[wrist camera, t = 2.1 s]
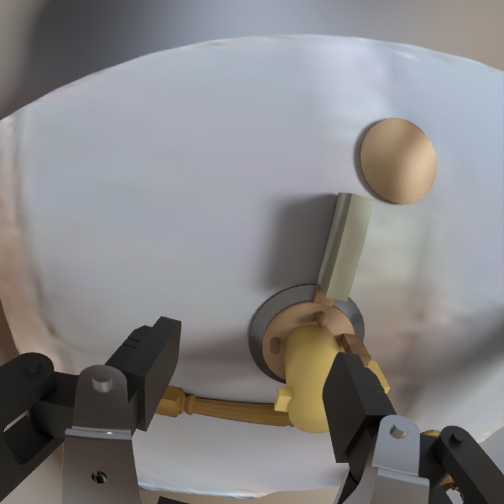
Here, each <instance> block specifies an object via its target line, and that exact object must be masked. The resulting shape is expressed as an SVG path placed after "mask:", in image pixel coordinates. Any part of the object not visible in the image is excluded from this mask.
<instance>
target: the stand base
mask: <svg viewBox="0 0 504 504" xmlns="http://www.w3.org/2000/svg"><path fill="white" fill-rule="evenodd" d="M315 287H316V284H307V285H299V286H295V287H292V288H289V289H286V290H284V291H282V292H280V293H278V294H276V295H275V296H273V297H272V298H271V299H269V300H268V301H267V302H266V303H265V304H264V305H263V306H262V307H261V308H260V310H259V311H258V313H257V314H256V316H255V318H254V320H253V322H252V325H251V328H250V333H249V346H250V351H251V354H252V357H253V359H254V361H255V363H256V364H257V365H258V367H259V368H260V369H261V370H262V371H263V372H264V373H265V374H266V375H268V376H269V377H271V378H273V379H274V380H277V381H279V382H281V383H285V384H286V380H284V379H282V378H280V377H279V376H277V375H276V374H275V373H274V372H273V371H272V370H271V369H270V368H269V367H268V365H267V364H266V362H265V359H264V356H263V350H262V348H263V335H264V332H265V329H266V327H267V325H268V323H269V322H270V320H271V319H272V318H273V317H274V316H275V315H276V314H277V313H278V312H279V311H280V310H282V309H283V308H285V307H287V306H289V305H291V304H293V303H296V302H300V301H305V300H312V298H313V295H314V291H315ZM333 305H335V306H336V307H338V308H339V309H341V310H342V311H343V312H344V313H345V314H346V316H347V317H348V319H349V321H350V322H351V324H352V326H353V329H354V332H355V335H359V337H360V339H361V341H362V342H363V339H364V322H363V318H362V315H361V313H360V310H359V309H358V307H357V306H356V304H355V303H354V302H353V301H352V300H351V299H350V298H349V297H348V300H347V301H342V300H337V299H334V302H333Z"/></svg>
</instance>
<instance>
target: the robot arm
mask: <svg viewBox="0 0 504 504" xmlns="http://www.w3.org/2000/svg"><path fill="white" fill-rule="evenodd" d="M180 334H181V321H178V320H174V319H170V318H167V317H163V316H161V317H160V318H159V319H158V321H157V322H156V323H155V324H154V326H153V327H149V326H146V325H144V326H142V327H140V328H138V329H135V330H134V331H133V332H132V333H131V334H130V335H129V337H128V339H126V340H125V341H124V342H123V344H122V345H121V346H120V347H119V348H118V349H117V350H116V352H115V353H114V354H113V355H112V356H111V358H110V359H109V360H108V361H107V362H106V363H105V365H94V366H90V367H87V368H85V369H84V370H83V371H82V372H81V373H80V374H79V375H71V374H65V373H60V372H55V371H54V366H53V363H52V361H51V360H50V359H49V358H48V357H47V356H45V355H43V354H40V353H33V352H31V353H24V354H21V355H19V356H17V357H16V358H14V359H12V360H11V361H9V362H7V363H6V364H4V365H2V366H0V502H1V501H2V500H3V499H4V498H5V497H6V496H7V495H8V494H9V493H10V492H12V491H13V490H14V489H15V488H16V487H17V486H18V485H19V484H20V483H21V482H22V481H23V480H24V479H25V478H26V477H27V476H28V475H29V474H30V473H32V471H34V470H35V469H36V468H37V467H38V466H39V465H40V464H41V463H42V462H43V461H44V460H45V459H46V458H47V457H48V456H49V455H50V454H51V453H52V452H53V451H54V450H55V449H57V447H59V446H60V445H61V444H62V443H63V442H64V451H63V471H62V504H142V501H141V496H140V491H139V485H138V480H137V474H136V468H135V461H134V454H133V446H132V436H133V434H134V432H135V430H136V429H139V430H142V431H145V432H146V431H147V429H148V426H149V424H150V422H151V420H152V418H153V416H154V414H155V411H156V409H157V407H158V405H159V403H160V401H161V399H162V397H163V395H164V392H165V390H166V388H167V386H168V384H169V382H170V380H171V378H172V376H173V374H174V371H175V369H176V365H177V361H178V354H179V344H180ZM322 400H323V404H324V409H325V413H326V417H327V422H328V427H329V431H330V436H331V440H332V445H333V450H334V455H335V459H336V463H349V469H348V470H347V471H346V473H345V475H344V477H343V480H342V483H341V485H340V488H339V491H338V493H337V496H336V498H335V501H334V504H453V503H452V502H451V500H450V498H449V497H448V495H447V494H446V492H445V491H444V489H443V488H442V486H441V484H442V483H443V482H444V481H445V480H446V478H447V477H448V476H449V475H450V476H451V478H452V479H453V481H454V482H455V484H456V485H457V486H458V488H459V489H460V491H461V492H462V494H463V496H464V502H463V504H504V475H503V473H502V472H501V471H500V470H499V469H498V468H497V466H496V465H495V464H494V462H493V461H492V460H491V459H490V458H489V456H488V455H487V454H486V453H485V452H484V450H483V449H482V448H481V447H480V446H479V444H478V443H477V442H476V441H475V440H474V439H473V437H472V436H471V435H470V434H469V433H468V432H467V431H466V430H464V429H462V428H460V427H457V426H447V427H445V428H444V429H443V430H442V431H441V432H440V434H439V435H438V437H436V436H430V435H424V434H420V432H419V429H418V427H417V426H416V424H415V423H414V422H413V421H411V420H410V419H408V418H406V417H403V416H400V415H397V414H396V412H395V410H394V408H393V406H392V404H391V402H390V400H389V398H388V396H387V394H386V393H385V390H384V388H383V386H381V382H380V381H379V379H378V377H377V375H376V374H375V373H374V372H372V371H371V370H370V369H369V368H368V367H365V366H364V364H363V362H362V360H361V358H360V356H359V355H358V354H355V353H347V352H338V353H337V354H336V356H335V358H334V361H333V364H332V366H331V369H330V371H329V374H328V376H327V378H326V381H325V383H324V386H323V391H322ZM25 411H26V414H27V415H25V416H24V417H23V418H21V419H20V420H19V421H18V422H16V423H15V424H14V425H12V426H11V427H10V428H9V429H8V430H6V431H5V432H4V429H5V427H6V426H7V425H8V424H9V423H11V422H12V421H14V420H15V419H16V418H17V417H18V416H20V415H21V414H23V413H24V412H25ZM3 432H4V433H3ZM157 504H188V503H184V502H180V501H176V500H172V499H168V498H165V497H161V496H160V497H159V500H158V503H157Z"/></svg>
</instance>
